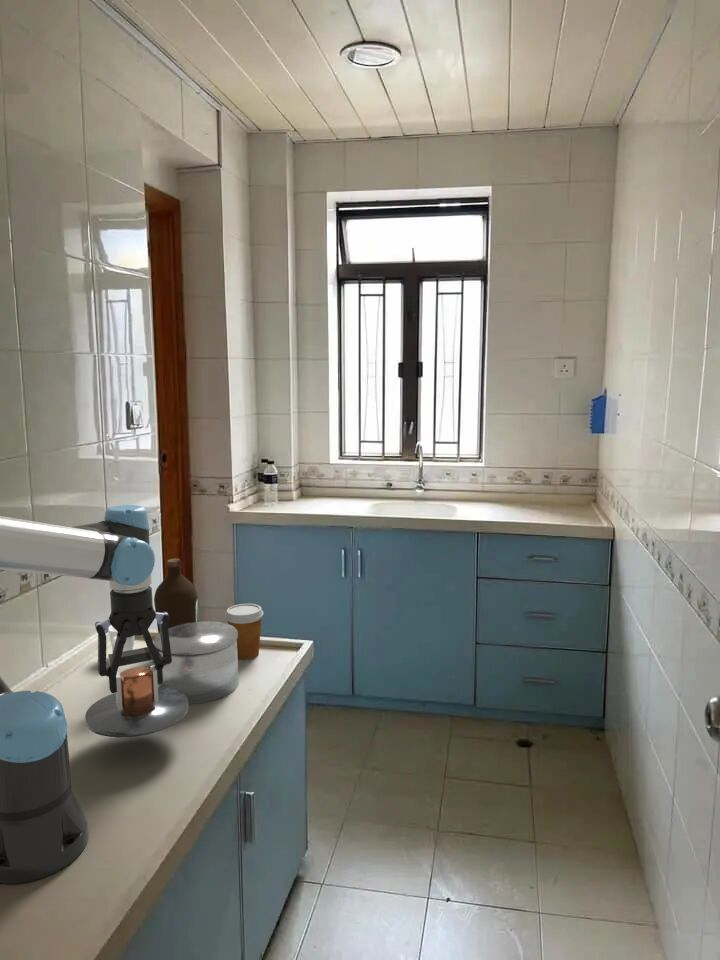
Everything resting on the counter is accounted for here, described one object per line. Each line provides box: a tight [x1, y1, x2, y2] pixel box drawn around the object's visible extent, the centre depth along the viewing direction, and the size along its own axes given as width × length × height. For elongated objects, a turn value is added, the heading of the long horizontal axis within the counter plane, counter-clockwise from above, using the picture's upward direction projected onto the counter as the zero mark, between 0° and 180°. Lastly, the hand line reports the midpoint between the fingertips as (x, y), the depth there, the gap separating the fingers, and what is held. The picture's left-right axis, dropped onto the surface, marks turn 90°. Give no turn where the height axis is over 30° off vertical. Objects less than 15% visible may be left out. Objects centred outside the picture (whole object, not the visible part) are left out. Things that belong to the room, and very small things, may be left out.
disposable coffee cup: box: [224, 603, 264, 660], centre depth 180 cm, size 10×10×12 cm
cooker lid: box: [84, 666, 190, 739], centre depth 137 cm, size 19×19×8 cm
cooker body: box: [107, 620, 240, 705], centre depth 160 cm, size 28×19×12 cm, turn 116°
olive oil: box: [153, 558, 199, 635], centre depth 179 cm, size 11×11×25 cm
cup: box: [108, 625, 136, 652], centre depth 179 cm, size 7×10×8 cm
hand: (137, 703), depth 137 cm, fingers closed on cooker lid, 6 cm apart
